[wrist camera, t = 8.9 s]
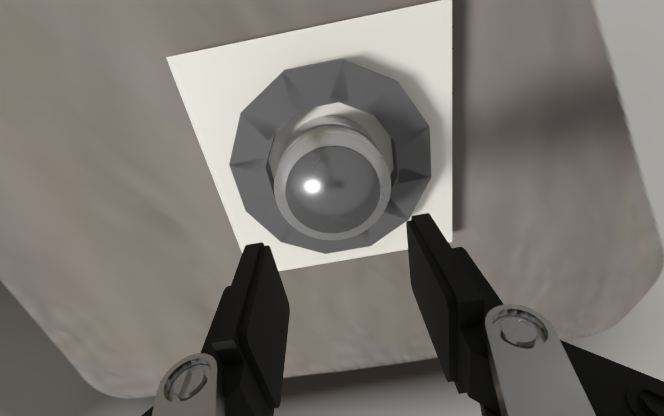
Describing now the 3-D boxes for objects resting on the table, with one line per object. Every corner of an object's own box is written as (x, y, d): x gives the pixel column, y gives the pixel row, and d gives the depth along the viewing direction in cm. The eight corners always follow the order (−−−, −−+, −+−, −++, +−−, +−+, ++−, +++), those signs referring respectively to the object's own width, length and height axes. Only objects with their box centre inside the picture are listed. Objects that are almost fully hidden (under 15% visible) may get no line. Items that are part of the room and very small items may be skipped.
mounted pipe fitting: (175, 56, 18) (156, 58, 16) (443, 0, 17) (461, -5, 15) (253, 265, 25) (248, 287, 23) (446, 232, 24) (458, 251, 22)
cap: (271, 125, 19) (258, 146, 15) (372, 106, 18) (386, 123, 14) (294, 213, 21) (288, 250, 18) (382, 198, 21) (396, 233, 17)
